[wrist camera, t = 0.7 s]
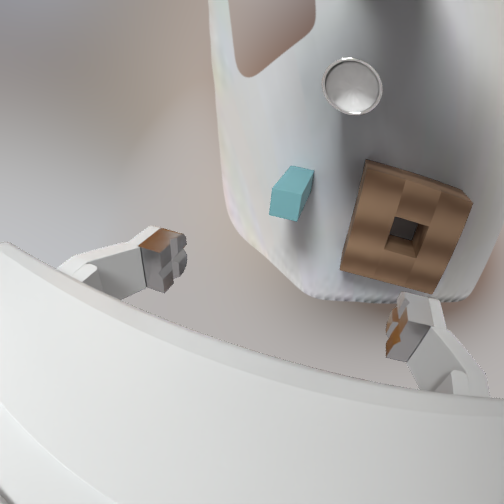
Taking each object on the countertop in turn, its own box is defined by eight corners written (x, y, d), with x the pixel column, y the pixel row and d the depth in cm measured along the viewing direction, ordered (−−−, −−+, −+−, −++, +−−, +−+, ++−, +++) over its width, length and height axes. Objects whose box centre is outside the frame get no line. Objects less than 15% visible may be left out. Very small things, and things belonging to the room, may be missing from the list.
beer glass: (321, 90, 39) (307, 90, 27) (347, 59, 35) (343, 43, 23) (357, 118, 40) (358, 130, 28) (383, 87, 35) (397, 85, 23)
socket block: (365, 159, 42) (367, 168, 38) (461, 190, 38) (473, 203, 34) (342, 251, 53) (339, 270, 48) (427, 274, 48) (432, 294, 44)
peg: (291, 165, 47) (272, 188, 38) (314, 170, 47) (301, 194, 37) (288, 187, 50) (268, 214, 40) (310, 192, 49) (297, 221, 39)
